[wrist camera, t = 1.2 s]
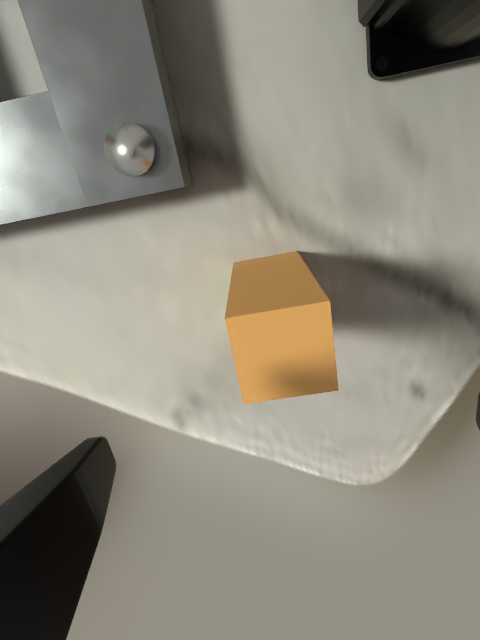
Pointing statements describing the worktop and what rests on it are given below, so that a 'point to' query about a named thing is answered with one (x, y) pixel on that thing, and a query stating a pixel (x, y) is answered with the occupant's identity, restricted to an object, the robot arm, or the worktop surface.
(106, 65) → the grey square hole plate
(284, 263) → the tan square peg
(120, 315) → the worktop surface
